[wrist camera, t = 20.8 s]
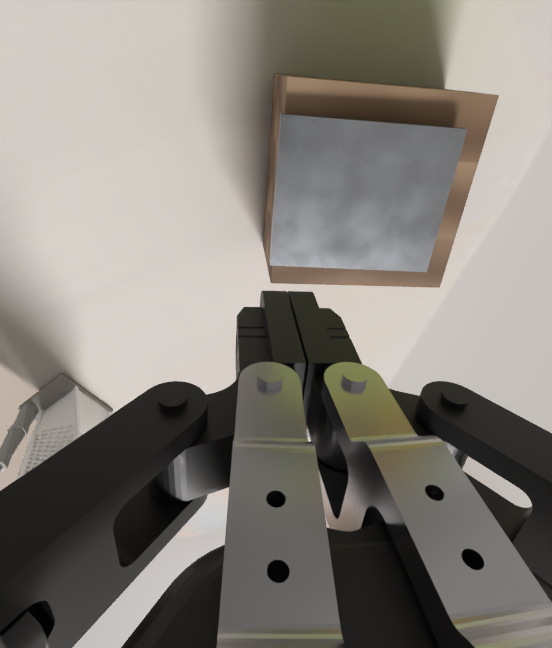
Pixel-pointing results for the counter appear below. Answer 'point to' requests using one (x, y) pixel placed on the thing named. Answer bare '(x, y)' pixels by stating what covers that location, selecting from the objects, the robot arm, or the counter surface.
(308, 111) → the hole block
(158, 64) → the counter surface
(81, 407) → the skyscraper
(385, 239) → the panel
